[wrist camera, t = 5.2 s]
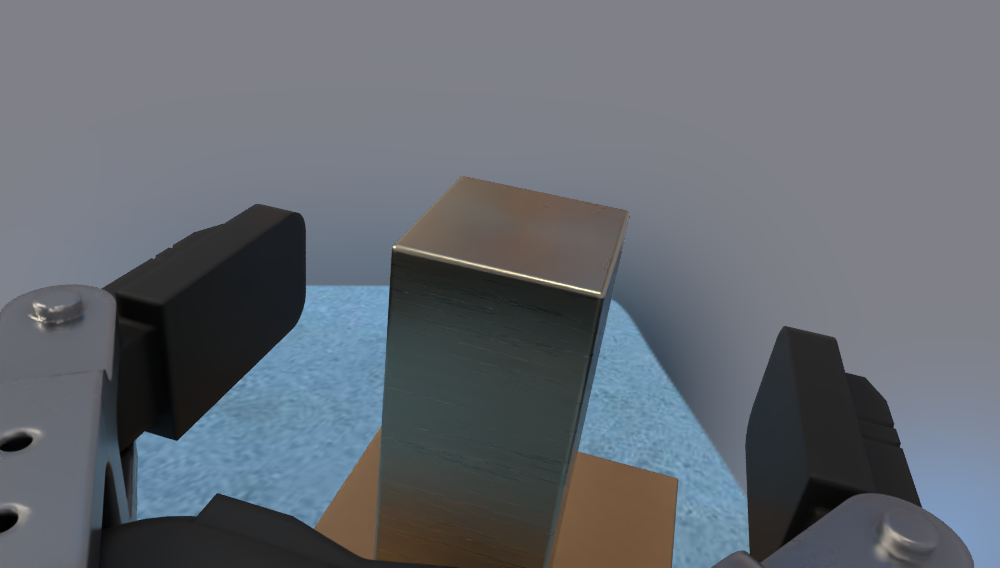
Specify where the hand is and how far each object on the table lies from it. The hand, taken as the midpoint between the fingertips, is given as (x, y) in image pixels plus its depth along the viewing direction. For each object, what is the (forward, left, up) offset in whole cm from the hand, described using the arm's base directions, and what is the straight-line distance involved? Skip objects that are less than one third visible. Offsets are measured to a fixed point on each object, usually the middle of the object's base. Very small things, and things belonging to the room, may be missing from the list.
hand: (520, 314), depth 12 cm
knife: (0, -1, -12) cm, 12 cm away
